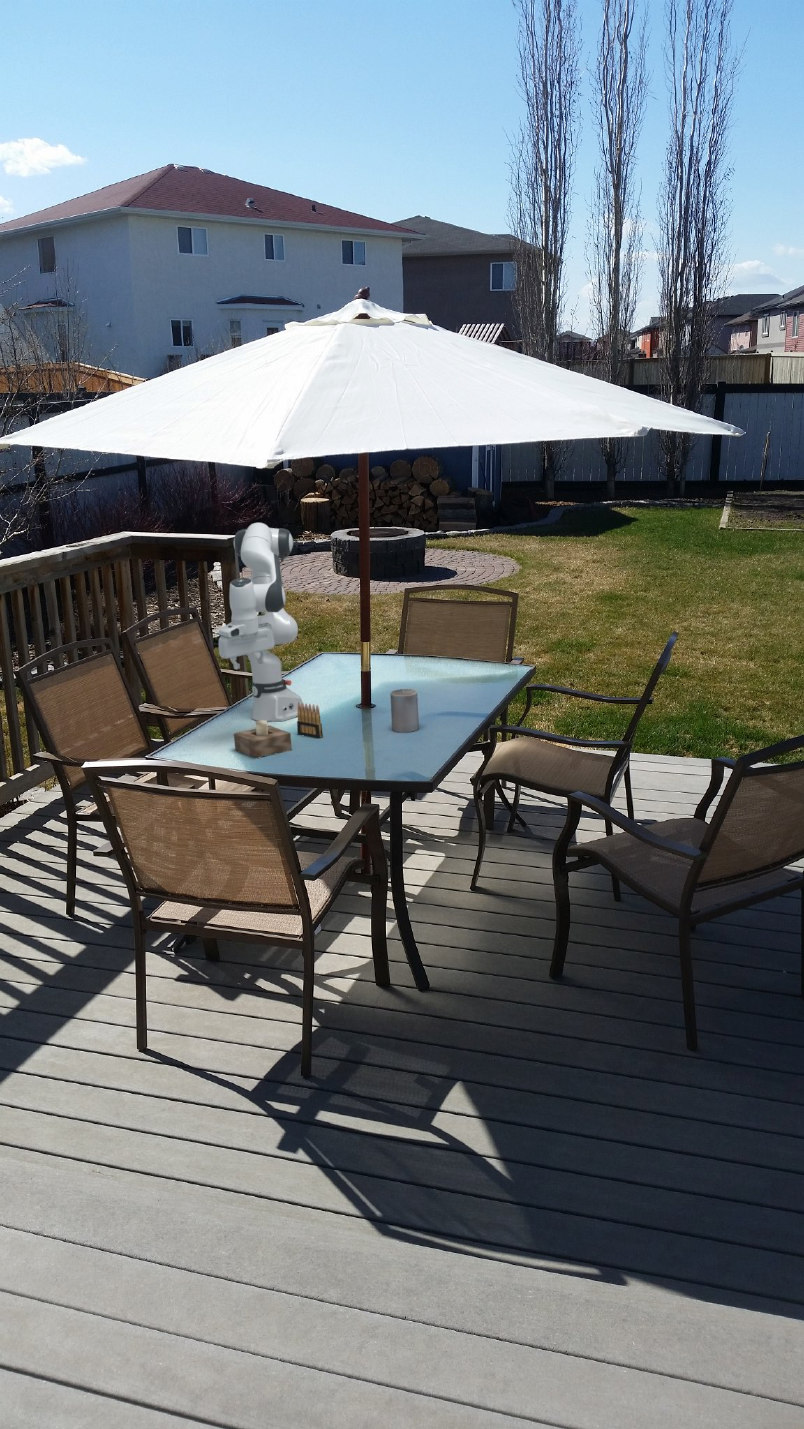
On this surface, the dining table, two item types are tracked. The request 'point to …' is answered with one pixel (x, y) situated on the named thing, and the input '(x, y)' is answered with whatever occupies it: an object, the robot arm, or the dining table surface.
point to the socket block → (262, 742)
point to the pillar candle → (404, 710)
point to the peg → (261, 728)
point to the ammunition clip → (309, 721)
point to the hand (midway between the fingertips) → (249, 666)
